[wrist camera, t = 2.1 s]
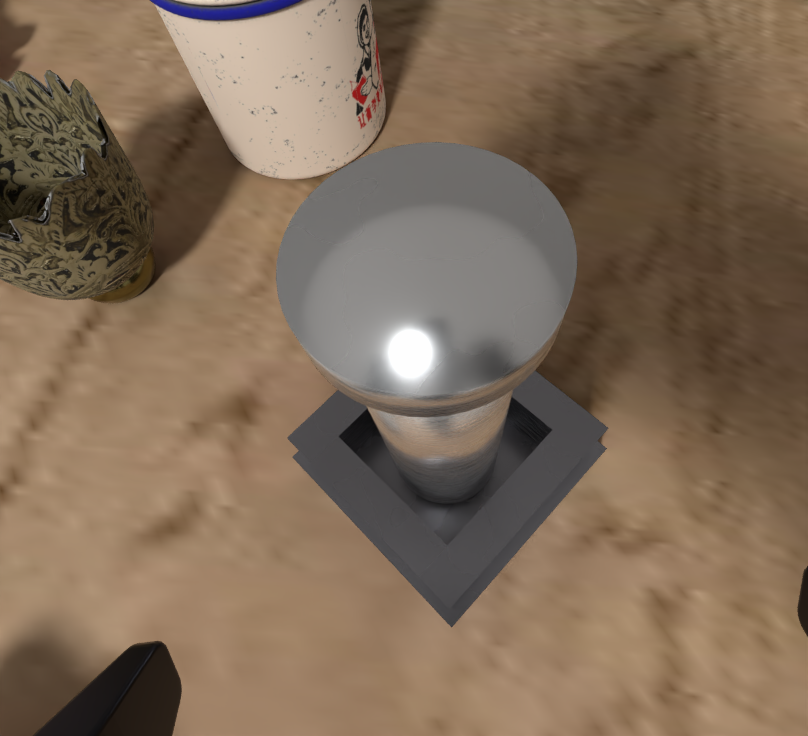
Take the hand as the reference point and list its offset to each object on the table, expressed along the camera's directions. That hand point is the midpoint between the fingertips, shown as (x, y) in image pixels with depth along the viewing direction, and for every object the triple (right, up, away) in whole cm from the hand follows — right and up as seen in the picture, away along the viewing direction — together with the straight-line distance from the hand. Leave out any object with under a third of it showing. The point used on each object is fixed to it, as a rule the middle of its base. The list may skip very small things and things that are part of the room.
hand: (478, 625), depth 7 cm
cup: (-14, +8, +18) cm, 24 cm away
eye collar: (+1, 0, +13) cm, 13 cm away
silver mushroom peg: (0, +1, +12) cm, 12 cm away
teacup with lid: (-6, +18, +21) cm, 29 cm away
